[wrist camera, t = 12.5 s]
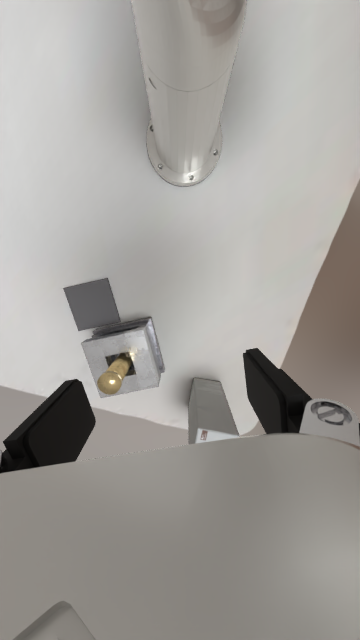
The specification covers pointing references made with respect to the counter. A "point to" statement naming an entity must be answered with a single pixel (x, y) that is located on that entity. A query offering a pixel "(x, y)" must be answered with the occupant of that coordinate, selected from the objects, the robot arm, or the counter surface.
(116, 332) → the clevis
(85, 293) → the mat
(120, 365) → the pin
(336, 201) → the counter surface
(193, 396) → the skincare box
